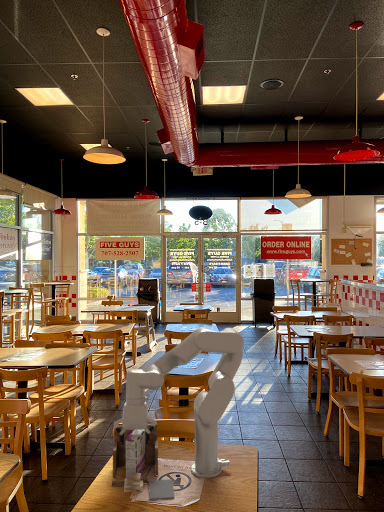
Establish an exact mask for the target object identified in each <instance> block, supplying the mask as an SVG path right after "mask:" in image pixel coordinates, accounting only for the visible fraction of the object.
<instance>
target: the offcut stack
mask: <svg viewBox="0 0 384 512" xmlns="http://www.w3.org/2000/svg"><path fill="white" fill-rule="evenodd" d="M140 479H142V475H141V473H131V474H130V477H129V478H126V477H125V478H124V480H125V483H124V485H123V492H124V493H126V492H127V493H128V492H129V493H130V492H136V491H135V490H143V491H144V484H143V481H140Z"/></svg>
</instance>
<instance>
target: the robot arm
mask: <svg viewBox="0 0 384 512" xmlns="http://www.w3.org/2000/svg"><path fill="white" fill-rule="evenodd" d="M244 339H245V338H244V337H243V335H242V334H241V333H239V332H238V331H237V330H236V329H235V328H232V327H226V328H223V330H221V331H217V330H210V329H209V328H207V327H205V326H201V327H198V328H196V329H195V330H194V331H193V332H191V333H190V334H189V335H187V337H185V338H184V339H183V340H182V341H181V342H179V344H177V345H176V346H174V347H173V348H171V349H170V350H169V351H167V352H166V353H164V354H163V355H161V356H160V357H158V359H156V360H155V361H154V362H153V363H151V364H150V365H149V366H148V367H147V368H146V370H143V369H141V368H131V369H129V370H127V371H126V377H125V378H126V380H125V381H126V382H125V402H124V403H123V408H122V417H121V418H119V419H118V420H115V421H113V424H112V425H113V427H114V430H115V429H116V431H117V432H118V433H119V434H120V442H122V445H124V432H125V430H142V429H144V430H145V431H146V444H148V441H149V440H150V432H151V431H152V430H153V429H154V427H155V425H156V424H158V423H157V420H155V419H154V418H151V417H149V415H148V404H147V401H149V397H148V396H146V394H145V391H146V390H151V391H155V390H159V389H160V388H161V387H162V386H163V385H164V382H165V381H164V377H165V376H166V375H167V374H169V373H170V372H171V371H172V370H174V369H176V368H177V367H181V366H186V365H188V364H189V363H190V362H192V361H193V360H194V359H195V358H196V357H198V356H199V354H201V353H202V352H205V353H214V354H218V353H220V354H221V356H220V358H219V361H218V362H217V364H216V366H215V368H214V369H213V371H212V373H211V374H210V376H209V378H208V381H207V383H208V387H209V390H208V391H202V392H199V393H198V394H197V395H196V397H195V399H194V402H193V413H194V414H193V415H194V416H193V417H194V463H193V464H192V465H191V468H190V470H191V473H192V474H193V475H195V476H196V477H199V478H202V479H213V478H215V477H218V476H219V475H221V474H222V471H223V470H222V469H223V467H230V461H229V460H226V459H225V458H221V459H220V458H219V445H218V443H219V442H218V441H219V439H218V438H219V435H218V434H219V433H218V432H219V431H218V430H219V424H218V422H219V421H220V419H221V418H222V416H223V415H224V413H225V412H226V410H227V408H228V406H229V405H230V402H231V401H232V399H233V398H234V395H235V390H236V387H235V382H234V381H233V380H234V378H235V377H236V374H237V373H238V371H239V369H240V366H241V364H242V361H243V351H244V350H243V348H244V345H245V340H244ZM121 423H122V426H123V427H122V428H120V427H119V426H120V425H121ZM149 423H150V424H152V425H151V426H150V427H148V426H147V425H148V424H149ZM119 424H120V425H119Z"/></svg>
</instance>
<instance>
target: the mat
mask: <svg viewBox="0 0 384 512" xmlns="http://www.w3.org/2000/svg"><path fill="white" fill-rule="evenodd" d="M148 484H149V487H148V488H149V489H150V490H149V501H158V500H159V499H162V500H173V499H175V491H174V490H175V488H174V482H173V479H172V478H170V479H156V480H155V479H154V480H148ZM159 501H160V500H159Z"/></svg>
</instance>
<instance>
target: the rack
mask: <svg viewBox="0 0 384 512" xmlns="http://www.w3.org/2000/svg"><path fill="white" fill-rule="evenodd" d="M151 425H152V423H148V425H147V426H148V427H150V426H151ZM118 426H119V427H120V428H122V427H123V426H122V425H121V424H120V425H118ZM132 432H133V430H125V432H124V445H122V442H120V434H119V433H118V432H117V431H116V429H115V428H114V442H113V448H112V479H114V480H111V487H116V486H117V487H118V486H124V483H125V479H119V480H118V479H117V473H118V468H126V454H125V440H126V439H127V438H128V436H129V435H130V434H131V433H132ZM145 459H146V467H148V466H154V476H155V477H156V475H158V476H159V441H158V423H156V425H155V427H154V429H153V430H152V431H151V432H150V440H149V441H148V444H146V431H145ZM115 479H117V480H115ZM140 481H143V485H145V483H148V484H149V478H148V477H146V478H141V479H140Z"/></svg>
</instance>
